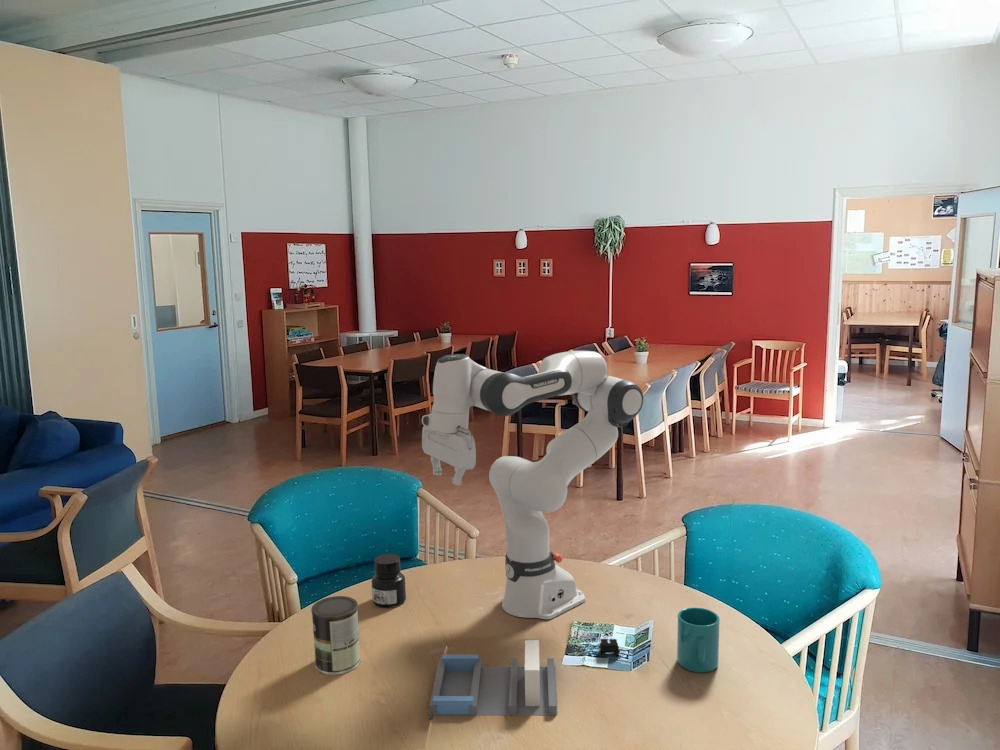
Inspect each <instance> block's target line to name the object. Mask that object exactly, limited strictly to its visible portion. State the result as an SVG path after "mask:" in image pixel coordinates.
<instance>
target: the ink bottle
mask: <svg viewBox="0 0 1000 750" xmlns="http://www.w3.org/2000/svg"><path fill="white" fill-rule="evenodd" d="M401 568H402V567H401V557H400V556H399V555H398V554H394V553H387V554H380V555H378V556H376V557H375V558H374V573H375V574H374V575H373V576H372V578H371V599H372V603H373V604H374V605H375V606H377V607H379V608H384V609H385V608H386V609H389V608H394V607H397V606H400V605H402V604H404V603H405V602H406V599H407V595H406V594H407V593H406V591H407V590H406V577H405V575H404V574H403V573H402V572H401V570H402V569H401Z"/></svg>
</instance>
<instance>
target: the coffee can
mask: <svg viewBox="0 0 1000 750" xmlns="http://www.w3.org/2000/svg"><path fill="white" fill-rule="evenodd" d="M358 605H359V604H358V601H357V600H356V599H355V598H353V597H350V596H346V595H345V596H344V595H336V596H329V597H325V598H323V599H319V600H318V601H316V602H315V603H314V604H312V606H311V611H310V612H311V616H312V617H311V618H312V629H313V632H312V633H313V644H314V645H313V646H314V657H315V658H314V661H315V662H314V663H315V664H314V665H315V669H316V671H318V673H321V674H323V675H326V676H338V675H344V674H347V673H349V672H350V673H351V672H352V671H353V670H355V669H356V668H358V666H360V664H361V652H360V638H359V637H360V631H359V616H358V615H359V614H358V608H359V607H358Z"/></svg>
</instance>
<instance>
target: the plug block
mask: <svg viewBox="0 0 1000 750" xmlns="http://www.w3.org/2000/svg"><path fill="white" fill-rule="evenodd" d="M524 640H525V641H524V667H525V706H540V667H541V666H540V640H539V639H527V640H526V639H524Z"/></svg>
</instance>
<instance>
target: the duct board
mask: <svg viewBox="0 0 1000 750" xmlns="http://www.w3.org/2000/svg"><path fill="white" fill-rule="evenodd" d="M539 667H540V706H525V666H519V659H518V657H515V658H512V657H511V658H510V666H483V658H481V657H480V658H479V654H442V657H441V658H440V657H439V660H438V664H437V669H436V672H435V678H434V683H433V688H432V691H431V697H430V701H429V705H428V707H429V711H428V720H433V719H434V716H559V713H558V712H559V711H558V710H559V709H558V696H557V695H558V694H557V693H558V691H557V676H556V674H557V673H556V666H555V658H553V657H549V658H548V657H547V658H546V666H539Z"/></svg>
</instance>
